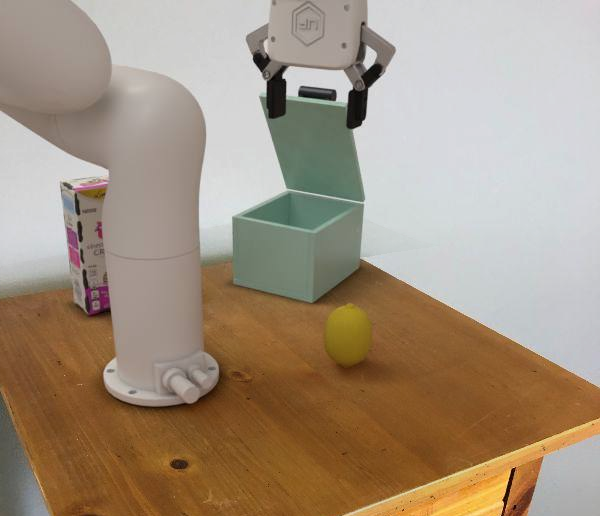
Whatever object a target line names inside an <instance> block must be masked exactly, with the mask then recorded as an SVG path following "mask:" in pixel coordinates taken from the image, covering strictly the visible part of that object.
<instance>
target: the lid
mask: <svg viewBox="0 0 600 516" xmlns="http://www.w3.org/2000/svg"><path fill="white" fill-rule="evenodd" d="M258 97H259V101H260V104H261V108H262V111H263V114H264V118H265V121H266V125H267V127H268V131H269V135H270V138H271V141H272V145H273V147H274V151H275V154H276V157H277V161H278V165H279V168H280V172H281V175H282V178H283V181H284V185H285V188H286V190H290V191H295V192H301V193H307V194H312V195H318V196H323V197H329V198H335V199H340V200H346V201H352V202H357V203H364V202H365V200H366V195H365V189H364V184H363V179H362V174H361V168H360V167H361V166H360V163H359V156H358V151H357V146H356V140H355V134H354V129H348V128H347V127H346V121H347V105H348V102H343V101H337V98H338V92H337V90H336V89H334V88H326V87H318V86H308V85H300V86H299V88H298V91H297V96H294V95H287V94H286V114H285V115H284V116H282V117H279V118H276V119H269V117H268V109H267V107H266V92H264V91H263V92H260V94H259V95H258Z"/></svg>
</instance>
